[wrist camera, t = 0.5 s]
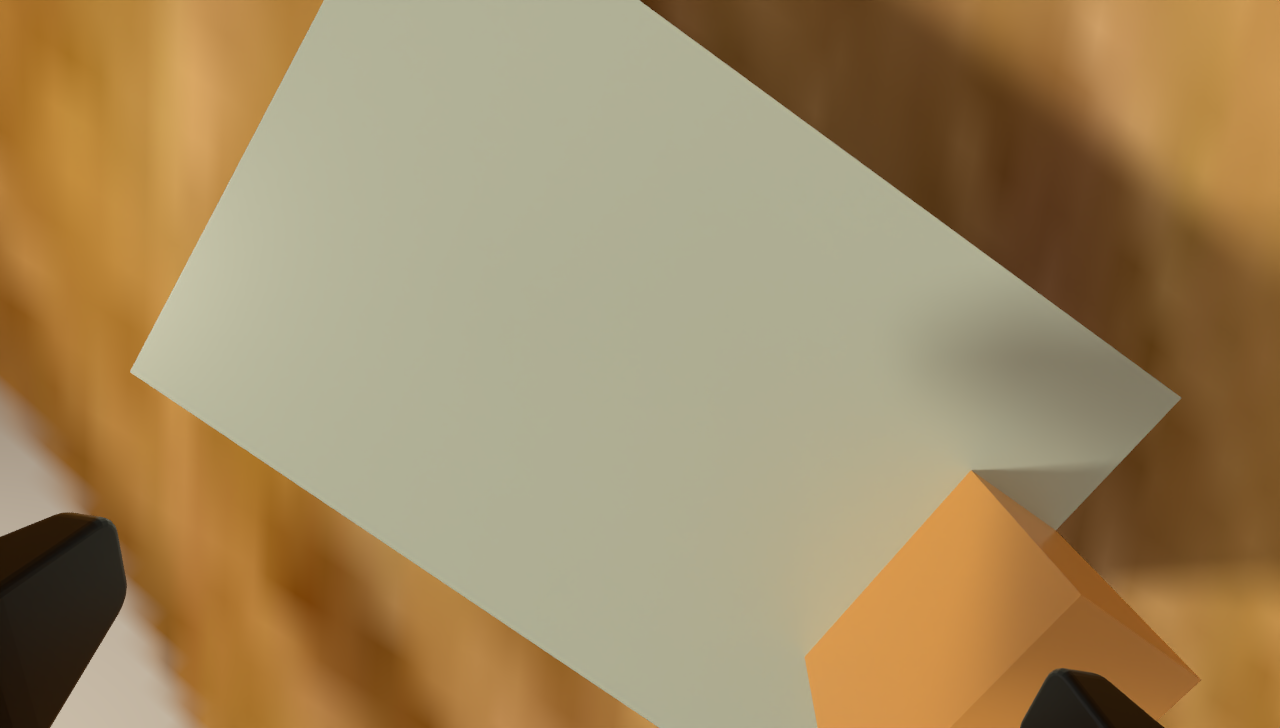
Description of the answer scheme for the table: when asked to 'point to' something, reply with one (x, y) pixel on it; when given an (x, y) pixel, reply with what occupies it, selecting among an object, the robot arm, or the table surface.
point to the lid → (659, 375)
